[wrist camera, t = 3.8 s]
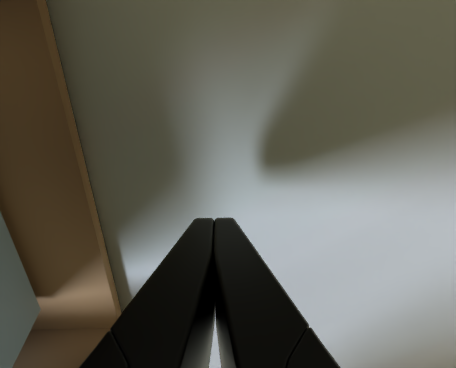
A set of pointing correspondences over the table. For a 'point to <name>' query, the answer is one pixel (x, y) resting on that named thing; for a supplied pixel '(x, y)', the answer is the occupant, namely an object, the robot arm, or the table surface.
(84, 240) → the brown tray
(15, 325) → the grey box
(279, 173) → the table surface
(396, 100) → the table surface
